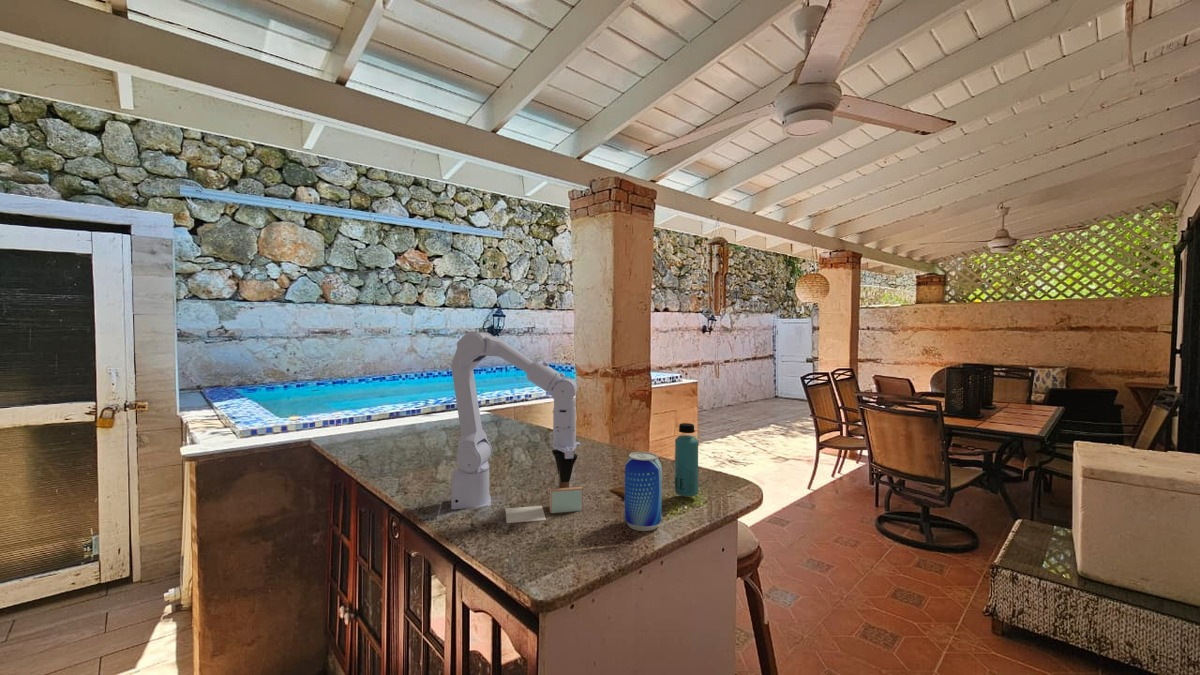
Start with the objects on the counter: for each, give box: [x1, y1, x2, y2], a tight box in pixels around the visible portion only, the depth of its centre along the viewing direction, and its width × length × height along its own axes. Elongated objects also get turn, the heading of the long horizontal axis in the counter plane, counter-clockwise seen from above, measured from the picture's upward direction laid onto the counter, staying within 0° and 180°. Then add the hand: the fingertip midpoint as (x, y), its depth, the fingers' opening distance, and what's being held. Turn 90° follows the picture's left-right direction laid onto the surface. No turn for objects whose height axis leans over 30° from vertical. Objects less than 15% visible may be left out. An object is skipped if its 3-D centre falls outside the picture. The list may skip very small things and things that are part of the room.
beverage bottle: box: [673, 422, 700, 497], centre depth 124 cm, size 6×7×20 cm
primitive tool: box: [609, 485, 625, 499], centre depth 123 cm, size 19×6×4 cm, turn 28°
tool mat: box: [505, 505, 547, 524], centre depth 111 cm, size 9×9×1 cm
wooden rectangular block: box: [557, 473, 570, 488], centre depth 116 cm, size 7×3×7 cm, turn 104°
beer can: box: [624, 451, 663, 532], centre depth 106 cm, size 8×8×16 cm
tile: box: [549, 486, 584, 514], centre depth 113 cm, size 8×1×6 cm, turn 103°
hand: (564, 479), depth 117 cm, fingers closed on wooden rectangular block, 2 cm apart
